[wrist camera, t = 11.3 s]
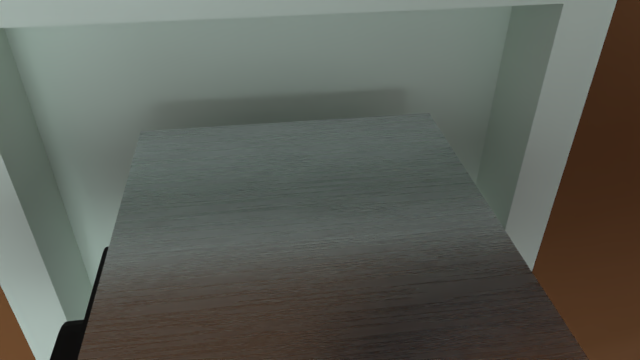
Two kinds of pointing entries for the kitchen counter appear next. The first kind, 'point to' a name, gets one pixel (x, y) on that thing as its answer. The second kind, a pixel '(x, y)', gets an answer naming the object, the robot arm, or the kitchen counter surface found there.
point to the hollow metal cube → (314, 251)
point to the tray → (266, 106)
